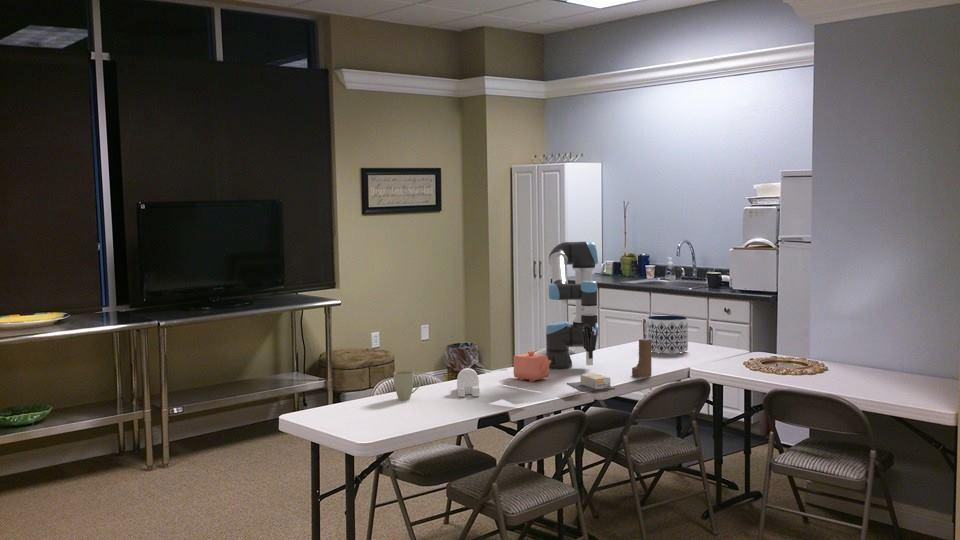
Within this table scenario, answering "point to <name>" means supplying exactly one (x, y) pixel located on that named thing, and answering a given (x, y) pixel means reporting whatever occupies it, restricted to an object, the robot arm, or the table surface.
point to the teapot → (531, 366)
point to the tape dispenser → (467, 383)
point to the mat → (586, 387)
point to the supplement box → (595, 381)
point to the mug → (404, 384)
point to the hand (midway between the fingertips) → (589, 365)
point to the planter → (668, 333)
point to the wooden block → (643, 359)
